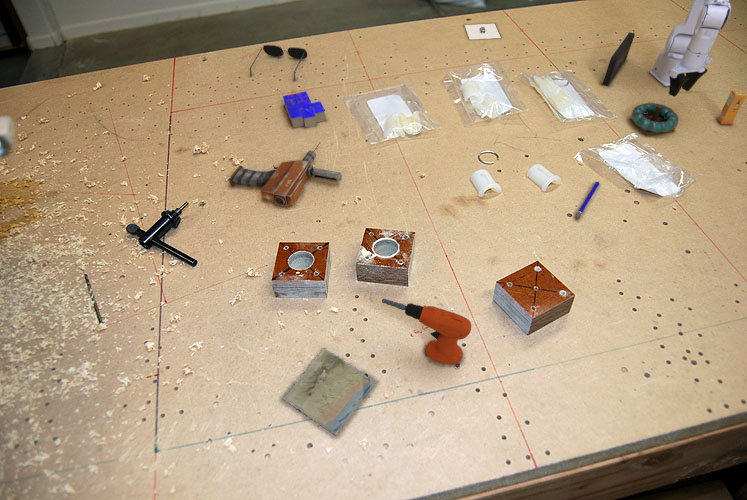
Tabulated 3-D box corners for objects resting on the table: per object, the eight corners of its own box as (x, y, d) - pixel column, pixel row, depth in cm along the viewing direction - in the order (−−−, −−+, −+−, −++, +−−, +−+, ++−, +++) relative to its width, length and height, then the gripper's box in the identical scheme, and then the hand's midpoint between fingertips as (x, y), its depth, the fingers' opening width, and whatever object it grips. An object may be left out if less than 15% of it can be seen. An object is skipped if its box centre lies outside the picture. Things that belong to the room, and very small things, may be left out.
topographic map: (282, 399, 104) (281, 395, 103) (324, 348, 111) (324, 345, 110) (335, 437, 99) (335, 434, 98) (376, 382, 106) (376, 378, 105)
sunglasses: (308, 59, 194) (306, 47, 190) (296, 85, 186) (293, 73, 182) (265, 55, 197) (262, 43, 193) (251, 80, 189) (247, 68, 185)
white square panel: (494, 23, 208) (495, 19, 207) (500, 37, 200) (501, 34, 199) (464, 25, 208) (464, 21, 207) (469, 39, 200) (470, 35, 199)
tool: (221, 184, 144) (320, 203, 135) (267, 128, 160) (358, 142, 152) (226, 195, 146) (323, 215, 138) (270, 139, 163) (360, 154, 155)
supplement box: (727, 118, 162) (743, 89, 154) (731, 124, 159) (748, 95, 152) (716, 118, 162) (732, 89, 155) (720, 124, 160) (736, 95, 152)
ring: (623, 111, 164) (626, 102, 162) (664, 108, 164) (667, 99, 162) (641, 135, 155) (644, 127, 153) (683, 132, 156) (688, 124, 153)
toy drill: (380, 322, 114) (387, 282, 102) (463, 350, 111) (480, 313, 100) (372, 340, 111) (379, 301, 99) (458, 370, 108) (475, 333, 97)
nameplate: (607, 86, 176) (616, 59, 168) (601, 85, 176) (611, 57, 169) (626, 59, 187) (635, 32, 179) (620, 58, 188) (630, 31, 180)
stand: (630, 119, 163) (637, 100, 158) (656, 114, 164) (664, 95, 159) (646, 135, 157) (654, 116, 152) (673, 131, 158) (682, 112, 153)
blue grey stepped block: (293, 130, 164) (291, 116, 160) (283, 105, 174) (281, 91, 170) (327, 123, 167) (326, 108, 163) (315, 99, 176) (313, 84, 172)
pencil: (577, 219, 135) (578, 217, 134) (574, 218, 135) (575, 215, 134) (599, 183, 144) (600, 180, 143) (596, 181, 144) (597, 179, 143)
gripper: (692, 62, 142) (672, 105, 152) (728, 48, 147) (706, 91, 157) (671, 51, 146) (653, 94, 157) (707, 38, 151) (687, 80, 161)
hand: (678, 92), depth 157 cm, fingers open, 5 cm apart
